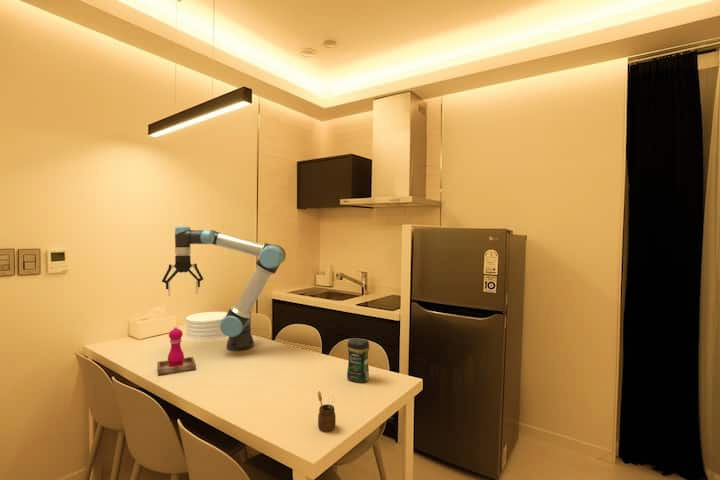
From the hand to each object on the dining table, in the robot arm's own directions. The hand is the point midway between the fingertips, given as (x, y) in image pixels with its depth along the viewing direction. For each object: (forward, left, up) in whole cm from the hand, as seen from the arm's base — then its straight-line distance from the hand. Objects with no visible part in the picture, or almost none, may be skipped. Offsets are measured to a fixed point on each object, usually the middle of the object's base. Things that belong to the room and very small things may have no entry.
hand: (183, 294), depth 208 cm
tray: (+5, +22, -33) cm, 40 cm away
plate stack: (-19, -39, -33) cm, 55 cm away
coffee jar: (-66, +76, -33) cm, 106 cm away
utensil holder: (-36, +108, -33) cm, 119 cm away
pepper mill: (+5, +22, -32) cm, 39 cm away
